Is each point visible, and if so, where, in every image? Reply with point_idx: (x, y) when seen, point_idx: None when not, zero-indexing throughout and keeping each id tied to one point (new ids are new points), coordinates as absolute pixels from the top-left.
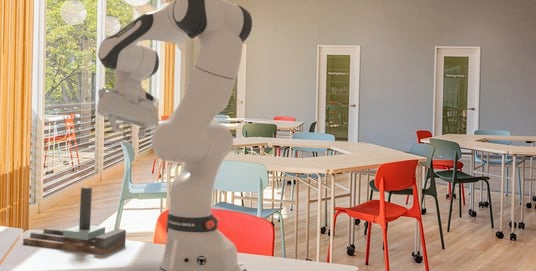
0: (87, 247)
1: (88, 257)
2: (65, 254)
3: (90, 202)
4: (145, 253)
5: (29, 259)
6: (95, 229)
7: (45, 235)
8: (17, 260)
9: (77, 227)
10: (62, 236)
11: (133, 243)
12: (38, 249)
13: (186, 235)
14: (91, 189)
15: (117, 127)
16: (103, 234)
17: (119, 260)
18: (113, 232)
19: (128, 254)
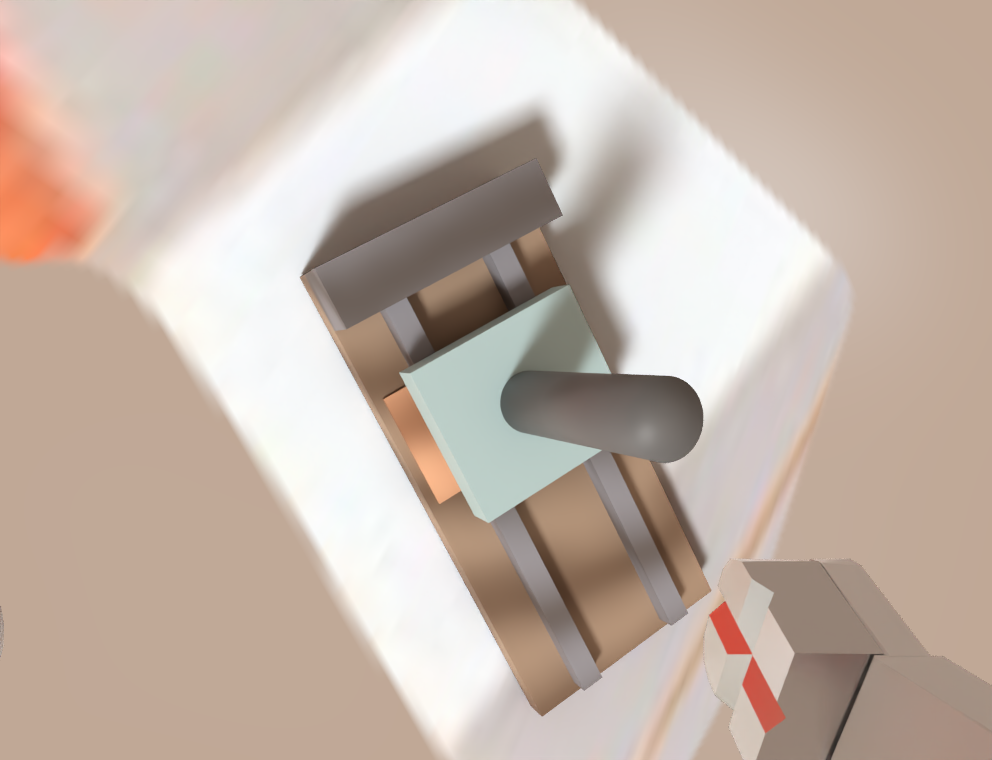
0: (554, 260)
1: (573, 192)
2: (627, 305)
3: (591, 378)
4: (300, 59)
5: (766, 322)
6: (491, 345)
7: (649, 535)
8: (803, 336)
9: (548, 450)
10: (601, 458)
11: (224, 292)
12: None
13: None
14: (636, 385)
15: (799, 577)
16: (491, 244)
17: (486, 47)
18: (417, 254)
19: (389, 107)
